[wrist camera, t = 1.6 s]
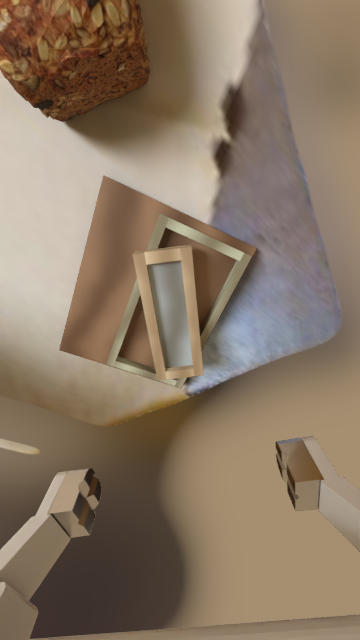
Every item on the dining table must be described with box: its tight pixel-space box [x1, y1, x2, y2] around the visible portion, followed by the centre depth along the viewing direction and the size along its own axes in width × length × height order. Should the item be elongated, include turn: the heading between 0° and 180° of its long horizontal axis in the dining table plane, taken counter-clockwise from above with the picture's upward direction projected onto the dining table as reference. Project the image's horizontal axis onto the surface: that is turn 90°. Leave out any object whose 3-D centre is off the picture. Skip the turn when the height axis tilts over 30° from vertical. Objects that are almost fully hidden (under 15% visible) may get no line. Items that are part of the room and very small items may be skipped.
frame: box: [133, 245, 203, 380], centre depth 27 cm, size 6×16×2 cm, turn 7°
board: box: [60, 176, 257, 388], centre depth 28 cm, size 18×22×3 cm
